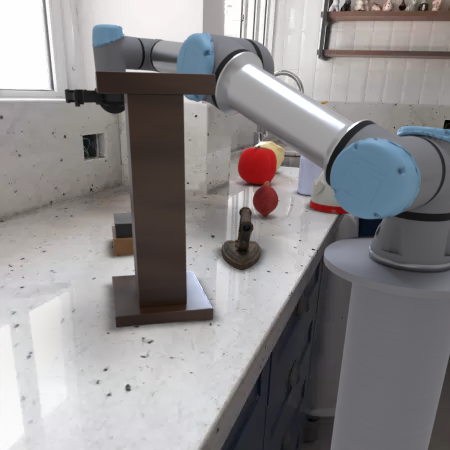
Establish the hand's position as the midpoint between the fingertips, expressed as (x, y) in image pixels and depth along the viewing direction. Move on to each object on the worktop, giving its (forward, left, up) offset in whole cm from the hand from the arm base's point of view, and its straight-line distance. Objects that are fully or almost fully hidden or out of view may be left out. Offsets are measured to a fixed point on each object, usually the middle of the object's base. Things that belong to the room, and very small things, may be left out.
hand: (116, 97), depth 95 cm
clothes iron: (-27, +21, -25) cm, 43 cm away
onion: (-30, -11, -25) cm, 41 cm away
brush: (-4, +11, -25) cm, 28 cm away
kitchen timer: (-48, -24, -25) cm, 59 cm away
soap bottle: (-43, -42, -25) cm, 65 cm away
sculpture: (-28, -79, -25) cm, 87 cm away
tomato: (-26, -55, -25) cm, 66 cm away
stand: (-17, +41, -25) cm, 51 cm away
